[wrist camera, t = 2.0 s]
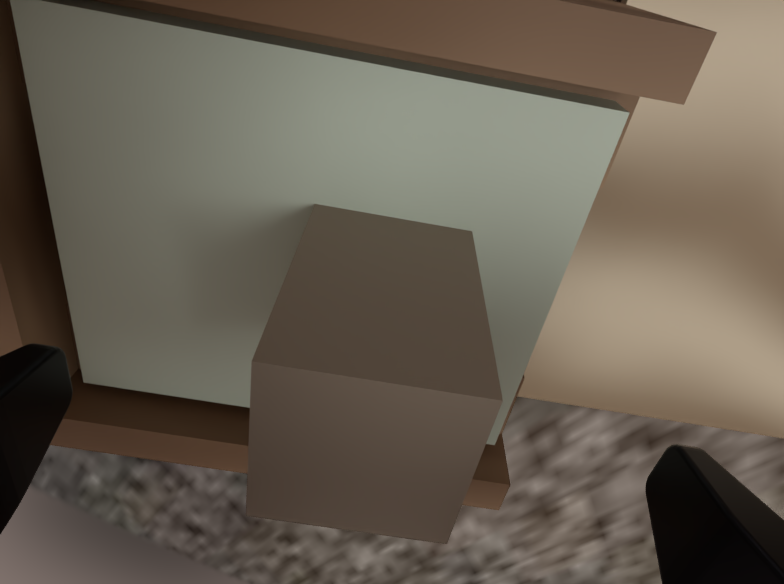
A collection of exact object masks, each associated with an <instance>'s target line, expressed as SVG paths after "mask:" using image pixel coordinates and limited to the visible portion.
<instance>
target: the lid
mask: <svg viewBox="0 0 784 584" xmlns="http://www.w3.org/2000/svg"><path fill="white" fill-rule="evenodd" d="M10 3H11V8H12V13H13V19H14V24H15V29H16V34H17V39H18V45H19V50H20V55H21V60H22V65H23V71H24V76H25V81H26V86H27V91H28V97H29V102H30V107H31V112H32V117H33V122H34V128H35V133H36V138H37V143H38V148H39V154H40V159H41V164H42V169H43V174H44V180H45V185H46V190H47V195H48V200H49V206H50V211H51V216H52V221H53V226H54V232H55V237H56V242H57V247H58V252H59V257H60V263H61V268H62V273H63V278H64V283H65V289H66V294H67V299H68V304H69V309H70V315H71V320H72V325H73V330H74V335H75V341H76V346H77V351H78V356H79V361H80V367H81V372H82V377H83V382H84V383H90V384H97V385H103V386H110V387H117V388H123V389H130V390H136V391H143V392H149V393H156V394H162V395H169V396H176V397H182V398H189V399H195V400H202V401H208V402H215V403H221V404H228V405H235V406H241V407H248V408H250V417H249V444H248V472H247V499H246V516H251V517H258V518H265V519H272V520H279V521H286V522H293V523H300V524H307V525H314V526H321V527H329V528H336V529H343V530H350V531H357V532H364V533H371V534H378V535H385V536H392V537H399V538H406V539H414V540H421V541H428V542H435V543H442V544H447V542H448V540H449V537H450V534H451V532H452V529H453V527H454V524H455V522H456V519H457V517H458V514H459V511H460V509H461V506H462V504H463V501H464V499H465V496H466V494H467V491H468V489H469V486H470V483H471V481H472V478H473V476H474V473H475V471H476V468H477V466H478V463H479V460H480V458H481V455H482V453H483V450H484V448H485V445H486V444H490V445H495V443H496V441H497V438H498V436H499V433H500V431H501V429H502V426H503V424H504V421H505V419H506V416H507V414H508V411H509V409H510V406H511V404H512V401H513V399H514V397H515V394H516V392H517V389H518V387H519V384H520V382H521V379H522V377H523V374H524V372H525V369H526V367H527V364H528V362H529V360H530V357H531V355H532V352H533V350H534V347H535V345H536V342H537V340H538V337H539V335H540V332H541V330H542V328H543V325H544V323H545V320H546V318H547V315H548V313H549V310H550V308H551V305H552V303H553V300H554V298H555V296H556V293H557V291H558V288H559V286H560V283H561V281H562V278H563V276H564V273H565V271H566V268H567V266H568V264H569V261H570V259H571V256H572V254H573V251H574V249H575V246H576V244H577V241H578V239H579V236H580V234H581V231H582V229H583V227H584V224H585V222H586V219H587V217H588V214H589V212H590V209H591V207H592V204H593V202H594V199H595V197H596V195H597V192H598V190H599V187H600V185H601V182H602V180H603V177H604V175H605V172H606V170H607V167H608V165H609V163H610V160H611V158H612V155H613V153H614V150H615V148H616V145H617V143H618V140H619V138H620V135H621V133H622V131H623V128H624V126H625V123H626V121H627V118H628V116H629V112H628V111H627V110H626V109H625V108H623V107H622V106H621V105H620V104H618V103H617V102H616V101H614V100H609V99H604V98H598V97H593V96H588V95H583V94H577V93H572V92H567V91H562V90H557V89H551V88H546V87H541V86H536V85H531V84H525V83H520V82H515V81H510V80H504V79H499V78H494V77H489V76H484V75H478V74H473V73H468V72H463V71H458V70H452V69H447V68H442V67H437V66H432V65H426V64H421V63H416V62H411V61H405V60H400V59H395V58H390V57H385V56H379V55H374V54H369V53H364V52H359V51H353V50H348V49H343V48H338V47H333V46H327V45H322V44H317V43H312V42H306V41H301V40H296V39H291V38H286V37H280V36H275V35H270V34H265V33H260V32H254V31H249V30H244V29H239V28H233V27H228V26H223V25H218V24H213V23H207V22H202V21H197V20H192V19H187V18H181V17H176V16H171V15H166V14H161V13H155V12H150V11H145V10H140V9H134V8H129V7H124V6H119V5H114V4H108V3H103V2H98V1H93V0H10Z"/></svg>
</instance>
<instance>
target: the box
mask: <svg viewBox="0 0 784 584" xmlns="http://www.w3.org/2000/svg"><path fill="white" fill-rule="evenodd" d="M93 1H98V2H103V3H108V4H114V5H119V6H124V7H129V8H134V9H140V10H145V11H150V12H155V13H161V14H166V15H171V16H176V17H181V18H187V19H192V20H197V21H202V22H207V23H213V24H218V25H223V26H228V27H233V28H239V29H244V30H249V31H254V32H260V33H265V34H270V35H275V36H280V37H286V38H291V39H296V40H301V41H306V42H312V43H317V44H322V45H327V46H333V47H338V48H343V49H348V50H353V51H359V52H364V53H369V54H374V55H379V56H385V57H390V58H395V59H400V60H405V61H411V62H416V63H421V64H426V65H432V66H437V67H442V68H447V69H452V70H458V71H463V72H468V73H473V74H478V75H484V76H489V77H494V78H499V79H504V80H510V81H515V82H520V83H525V84H531V85H536V86H541V87H546V88H551V89H557V90H562V91H567V92H572V93H577V94H583V95H588V96H593V97H598V98H604V99H609V100H614V101H616V102H617V103H618V104H620V105H621V106H622V107H623V108H625V109H626V110H627V111H628V112H629V116H628V118H627V121H626V123H625V126H624V128H623V131H622V133H621V135H620V138H619V140H618V143H617V145H616V148H615V150H614V153H613V155H612V158H611V160H610V163H609V165H608V167H607V170H606V172H605V175H604V177H603V180H602V182H601V185H600V187H599V188H603V186H604V183H605V181H606V179H607V176H608V174H609V171H610V169H611V166H612V164H613V161H614V159H615V157H616V154H617V152H618V149H619V147H620V144H621V142H622V139H623V137H624V135H625V132H626V130H627V127H628V125H629V122H630V120H631V117H632V115H633V113H634V110H635V108H636V105H637V103H638V100H639V98H640V97H645V98H650V99H655V100H661V101H666V102H671V103H676V104H681V105H684V104H685V101H686V99H687V97H688V95H689V93H690V91H691V88H692V86H693V84H694V82H695V80H696V77H697V75H698V73H699V71H700V69H701V66H702V64H703V62H704V60H705V58H706V56H707V53H708V51H709V49H710V47H711V45H712V42H713V40H714V38H715V36H716V34H717V32H715V31H711V30H708V29H705V28H701V27H698V26H695V25H692V24H688V23H685V22H682V21H679V20H675V19H672V18H669V17H666V16H662V15H659V14H656V13H653V12H649V11H646V10H643V9H640V8H636V7H633V6H630V5H627V4H623V3H620V2H617V1H613V0H93ZM31 343H37V344H43V345H50V346H56V347H59V348H61V349H62V350H63V351H64V352H65V355H66V359H67V364H68V369H69V374H70V378H71V383H72V389H73V394H72V400H71V403H70V405H69V408H68V410H67V412H66V414H65V416H64V418H63V420H62V422H61V424H60V426H59V428H58V430H57V432H56V434H55V436H54V438H53V440H52V442H51V444H50V445H55V446H61V447H68V448H75V449H82V450H89V451H96V452H103V453H109V454H116V455H123V456H130V457H137V458H144V459H151V460H158V461H164V462H171V463H178V464H185V465H192V466H199V467H206V468H212V469H219V470H226V471H233V472H240V473H247V472H248V444H249V417H250V408H248V407H241V406H235V405H228V404H221V403H215V402H208V401H202V400H195V399H189V398H182V397H176V396H169V395H162V394H156V393H149V392H143V391H136V390H130V389H123V388H117V387H110V386H103V385H97V384H90V383H84V382H83V377H82V372H81V367H80V361H79V356H78V351H77V346H76V341H75V335H74V330H73V325H72V320H71V315H70V309H69V304H68V299H67V294H66V289H65V283H64V278H63V273H62V268H61V263H60V257H59V252H58V247H57V242H56V237H55V232H54V226H53V221H52V216H51V211H50V206H49V200H48V195H47V190H46V185H45V180H44V174H43V169H42V164H41V159H40V154H39V148H38V143H37V138H36V133H35V128H34V122H33V117H32V112H31V107H30V102H29V97H28V91H27V86H26V81H25V76H24V71H23V65H22V60H21V55H20V50H19V45H18V39H17V34H16V29H15V24H14V19H13V13H12V8H11V3H10V0H0V356H2V355H5V354H7V353H9V352H11V351H13V350H16V349H18V348H20V347H22V346H25V345H27V344H31ZM524 379H525V377H524V374H523V377H522V379H521V382H520V384H519V387H518V389H517V392H516V394H515V397H514V399H513V401H512V404H511V406H510V409H509V411H508V414H507V416H506V419H505V421H504V424H503V426H502V429H501V431H500V433H499V436H498V438H497V441H496V443H495V445H490V444H486V445H485V448H484V450H483V453H482V455H481V458H480V460H479V463H478V466H477V468H476V471H475V473H474V476H473V478H472V481H471V483H470V486H469V489H468V491H467V494H466V496H465V499H464V501H463V504H462V505H467V506H473V507H480V508H487V509H494V510H499V509H500V507H501V504H502V502H503V500H504V498H505V496H506V493H507V491H508V489H509V487H510V480H509V474H508V468H507V462H506V456H505V450H504V444H503V438H502V432H503V430H504V427H505V425H506V423H507V420H508V418H509V415H510V413H511V410H512V408H513V405H514V403H515V401H516V398H517V396H518V393H519V391H520V388H521V386H522V384H523V381H524Z"/></svg>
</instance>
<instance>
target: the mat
mask: <svg viewBox="0 0 784 584" xmlns="http://www.w3.org/2000/svg"><path fill="white" fill-rule="evenodd" d="M621 3H623V4H627V5H630V6H633V7H636V8H640V9H643V10H646V11H649V12H653V13H656V14H659V15H662V16H666V17H669V18H672V19H675V20H679V21H682V22H685V23H688V24H692V25H695V26H698V27H701V28H705V29H708V30H711V31H715V32H717V34H716V36H715V38H714V40H713V42H712V45H711V47H710V49H709V51H708V53H707V56H706V58H705V60H704V62H703V64H702V66H701V69H700V71H699V73H698V75H697V77H696V80H695V82H694V84H693V86H692V88H691V91H690V93H689V95H688V97H687V99H686V101H685V104H684V105H681V104H676V103H671V102H666V101H661V100H655V99H650V98H645V97H640V98H639V100H638V103H637V105H636V108H635V110H634V113H633V115H632V117H631V120H630V122H629V125H628V127H627V130H626V132H625V135H624V137H623V139H622V142H621V144H620V147H619V149H618V152H617V154H616V157H615V159H614V161H613V164H612V166H611V169H610V171H609V174H608V176H607V179H606V181H605V183H604V186H603V188H599V190H598V192H597V195H596V197H595V199H594V202H593V204H592V207H591V209H590V212H589V214H588V217H587V219H586V222H585V224H584V227H583V229H582V231H581V234H580V236H579V239H578V241H577V244H576V246H575V249H574V251H573V254H572V256H571V259H570V261H569V264H568V266H567V268H566V271H565V273H564V276H563V278H562V281H561V283H560V286H559V288H558V291H557V293H556V296H555V298H554V300H553V303H552V305H551V308H550V310H549V313H548V315H547V318H546V320H545V323H544V325H543V328H542V330H541V332H540V335H539V337H538V340H537V342H536V345H535V347H534V350H533V352H532V355H531V357H530V360H529V362H528V364H527V367H526V369H525V372H524V377H525V379H524V381H523V384H522V386H521V388H520V391H519V393H518V396H519V397H525V398H532V399H538V400H544V401H551V402H557V403H563V404H570V405H576V406H582V407H589V408H595V409H601V410H608V411H614V412H620V413H627V414H633V415H639V416H646V417H652V418H658V419H665V420H671V421H677V422H684V423H690V424H696V425H702V426H709V427H715V428H721V429H728V430H734V431H740V432H747V433H753V434H759V435H766V436H772V437H778V438H784V0H621Z"/></svg>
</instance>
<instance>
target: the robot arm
mask: <svg viewBox="0 0 784 584" xmlns="http://www.w3.org/2000/svg"><path fill="white" fill-rule="evenodd" d="M72 394H73V389H72V383H71V378H70V374H69V369H68V364H67V359H66V355H65V352H64V351H63V350H62V349H61V348H59V347H56V346H50V345H43V344H37V343H31V344H27V345H25V346H22V347H20V348H18V349H16V350H13V351H11V352H9V353H7V354H5V355H2V356H0V534H1V532H2V531H3V529H4V528H5V526H6V525H7V523H8V521H9V520H10V519H11V517H12V515H13V513H14V512H15V510H16V509H17V507H18V505H19V503H20V502H21V500H22V498H23V496H24V495H25V493H26V491H27V489H28V487H29V485H30V483H31V481H32V479H33V477H34V475H35V473H36V471H37V469H38V467H39V465H40V463H41V461H42V459H43V457H44V455H45V453H46V451H47V449H48V447H49V446H50V444H51V442H52V440H53V438H54V436H55V434H56V432H57V430H58V428H59V426H60V424H61V422H62V420H63V418H64V416H65V414H66V412H67V410H68V408H69V405H70V403H71V400H72ZM646 497H647V503H648V508H649V514H650V519H651V525H652V530H653V536H654V541H655V547H656V552H657V558H658V563H659V569H660V574H661V579H662V584H784V520H783V519H782V518H781V517H779V516H778V515H777V514H776V513H775V512H774V511H773V510H771V509H770V508H769V507H768V506H767V505H766V504H765V503H763V502H762V501H761V500H760V499H759V498H758V497H757V496H755V495H754V494H753V493H752V492H751V491H750V490H749V489H747V488H746V487H745V486H744V485H743V484H742V483H740V482H739V481H738V480H737V479H736V478H735V477H734V476H732V475H731V474H730V473H729V472H728V471H727V470H726V469H724V468H723V467H722V466H721V465H720V464H719V463H718V462H716V461H715V460H714V459H713V458H712V457H711V456H710V455H708V454H707V453H706V452H705V451H704V450H702V449H700V448H697V447H692V446H686V445H680V444H673V445H671V446H669V447H668V448H667V449H666V451H665V452H664V454H663V455H662V457H661V458H660V460H659V461H658V463H657V464H656V466H655V467H654V469H653V470H652V472H651V473H650V475H649V476H648V479H647V482H646Z"/></svg>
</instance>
